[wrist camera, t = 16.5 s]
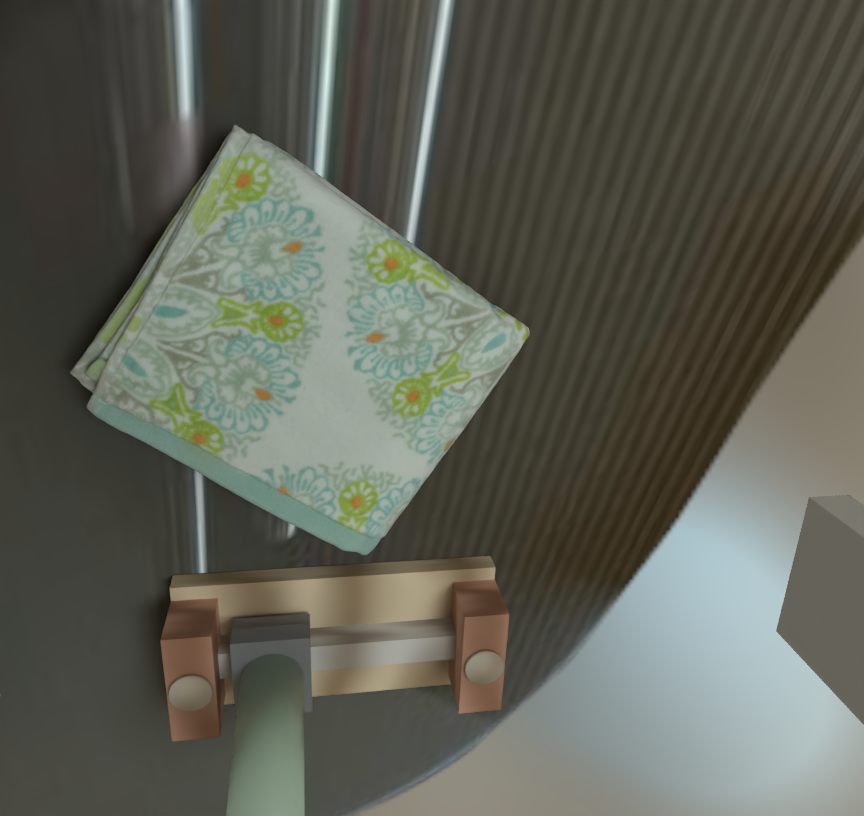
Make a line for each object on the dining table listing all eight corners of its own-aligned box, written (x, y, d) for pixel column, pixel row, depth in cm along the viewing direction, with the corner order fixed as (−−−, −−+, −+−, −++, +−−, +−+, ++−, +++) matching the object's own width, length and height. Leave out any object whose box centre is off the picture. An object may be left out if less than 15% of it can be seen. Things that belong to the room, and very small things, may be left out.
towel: (236, 111, 41) (228, 109, 36) (524, 322, 48) (549, 344, 43) (73, 372, 44) (46, 402, 39) (364, 532, 51) (371, 573, 47)
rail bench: (185, 693, 53) (172, 758, 48) (173, 575, 50) (157, 631, 44) (482, 667, 57) (501, 724, 51) (490, 555, 53) (511, 605, 48)
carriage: (239, 685, 51) (216, 894, 37) (233, 613, 49) (207, 807, 35) (311, 679, 52) (315, 881, 38) (309, 608, 50) (313, 795, 36)
